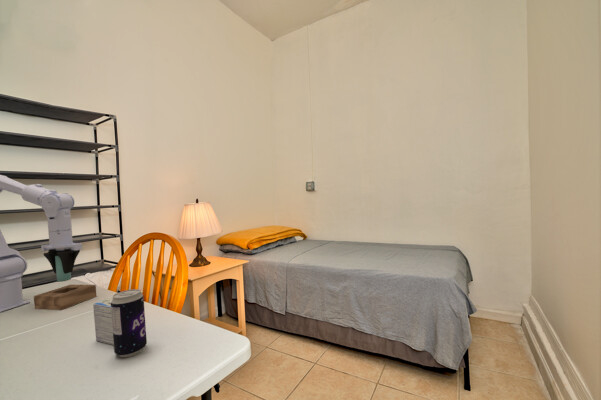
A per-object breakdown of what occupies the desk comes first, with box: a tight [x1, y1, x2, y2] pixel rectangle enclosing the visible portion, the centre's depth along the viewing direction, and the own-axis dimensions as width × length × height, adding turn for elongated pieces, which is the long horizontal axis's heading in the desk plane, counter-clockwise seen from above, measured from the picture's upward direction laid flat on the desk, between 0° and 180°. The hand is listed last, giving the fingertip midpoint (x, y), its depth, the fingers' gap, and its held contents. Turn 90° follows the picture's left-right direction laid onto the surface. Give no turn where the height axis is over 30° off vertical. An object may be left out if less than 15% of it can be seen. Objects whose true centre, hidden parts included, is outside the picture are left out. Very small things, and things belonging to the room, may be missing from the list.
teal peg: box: [55, 256, 72, 283], centre depth 90 cm, size 4×4×8 cm
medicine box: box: [93, 296, 114, 346], centre depth 63 cm, size 8×4×9 cm, turn 65°
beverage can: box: [111, 288, 148, 358], centre depth 57 cm, size 6×6×12 cm
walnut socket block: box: [33, 284, 97, 311], centre depth 90 cm, size 11×11×4 cm
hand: (63, 272), depth 90 cm, fingers closed on teal peg, 3 cm apart
